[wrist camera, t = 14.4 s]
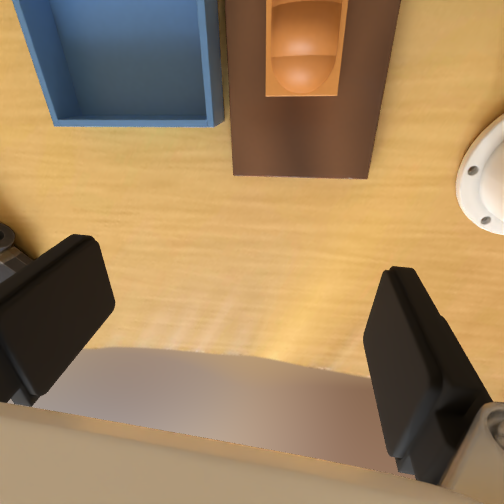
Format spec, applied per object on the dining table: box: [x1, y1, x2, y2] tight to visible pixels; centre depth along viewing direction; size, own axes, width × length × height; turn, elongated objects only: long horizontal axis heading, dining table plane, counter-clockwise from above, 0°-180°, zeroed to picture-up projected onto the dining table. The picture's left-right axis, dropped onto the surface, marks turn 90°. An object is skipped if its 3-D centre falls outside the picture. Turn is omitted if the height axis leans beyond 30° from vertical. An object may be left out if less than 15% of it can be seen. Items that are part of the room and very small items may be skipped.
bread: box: [266, 0, 348, 97], centre depth 21 cm, size 5×8×5 cm
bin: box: [12, 0, 224, 127], centre depth 25 cm, size 15×12×4 cm
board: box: [225, 0, 401, 179], centre depth 24 cm, size 13×22×2 cm, turn 1°
